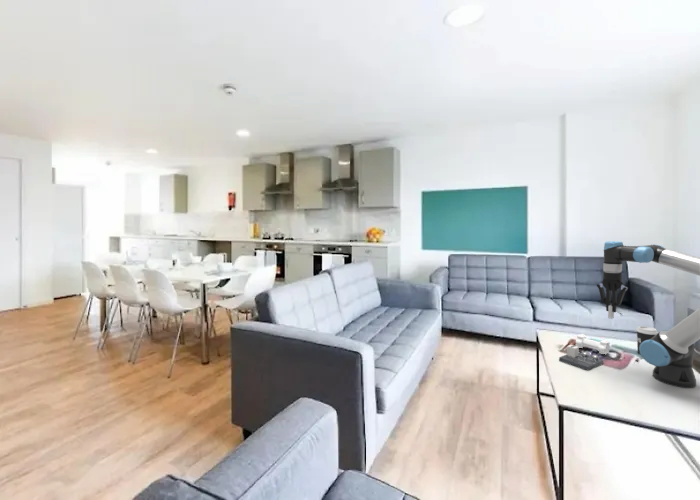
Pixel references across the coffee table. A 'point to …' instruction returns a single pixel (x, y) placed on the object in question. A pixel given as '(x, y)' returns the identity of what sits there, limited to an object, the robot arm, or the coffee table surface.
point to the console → (582, 361)
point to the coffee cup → (644, 334)
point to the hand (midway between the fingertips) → (610, 318)
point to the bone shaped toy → (593, 344)
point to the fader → (572, 351)
